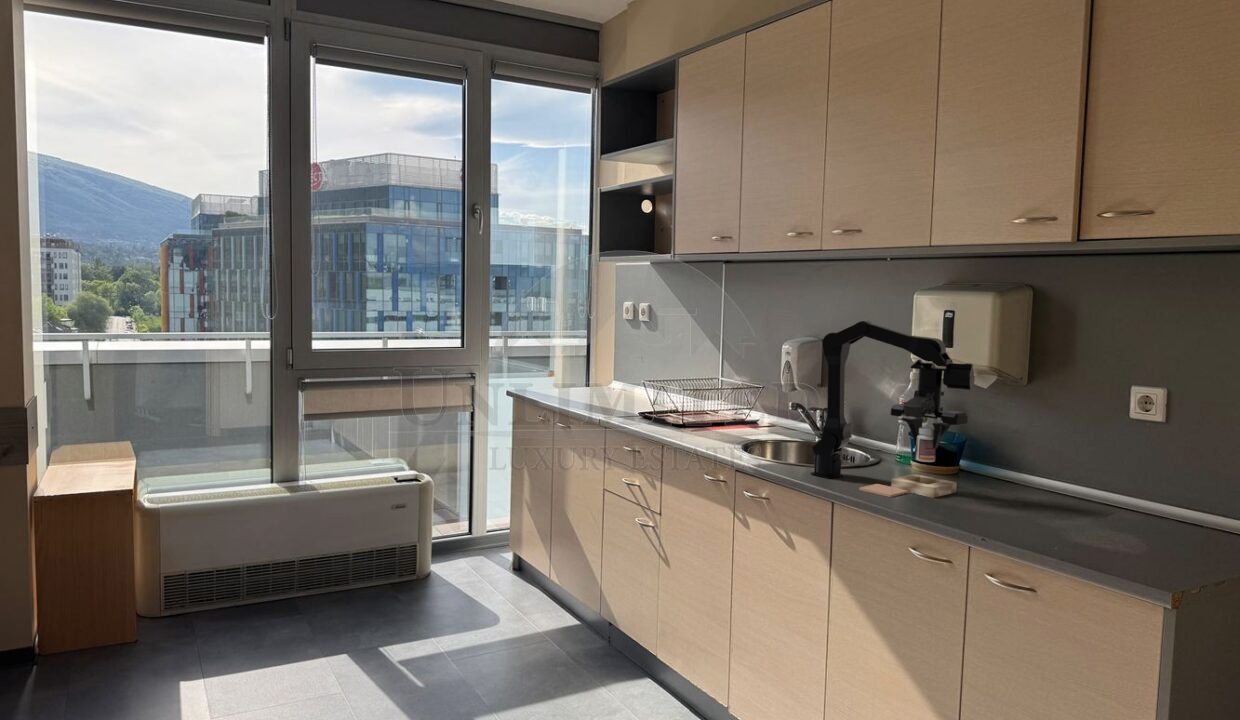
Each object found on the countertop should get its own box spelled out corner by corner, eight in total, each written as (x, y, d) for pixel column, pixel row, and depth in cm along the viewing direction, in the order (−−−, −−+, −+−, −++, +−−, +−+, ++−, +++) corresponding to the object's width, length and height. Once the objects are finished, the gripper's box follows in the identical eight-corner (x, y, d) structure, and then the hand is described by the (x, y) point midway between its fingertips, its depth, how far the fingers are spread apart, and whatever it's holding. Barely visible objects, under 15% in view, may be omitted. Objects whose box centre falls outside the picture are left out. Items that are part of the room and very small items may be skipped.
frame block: (891, 488, 220) (891, 478, 220) (914, 483, 227) (914, 473, 227) (933, 497, 211) (933, 487, 211) (956, 492, 218) (956, 482, 218)
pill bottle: (939, 462, 217) (941, 429, 216) (923, 462, 215) (925, 430, 215) (926, 458, 221) (928, 426, 221) (911, 459, 220) (913, 427, 219)
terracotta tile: (859, 489, 217) (859, 487, 217) (877, 486, 222) (877, 483, 222) (890, 497, 210) (890, 494, 210) (907, 492, 215) (907, 490, 215)
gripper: (880, 384, 219) (876, 444, 220) (947, 393, 204) (943, 456, 206) (903, 382, 226) (900, 440, 227) (970, 390, 212) (966, 451, 213)
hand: (926, 447), depth 218 cm, fingers closed on pill bottle, 5 cm apart
